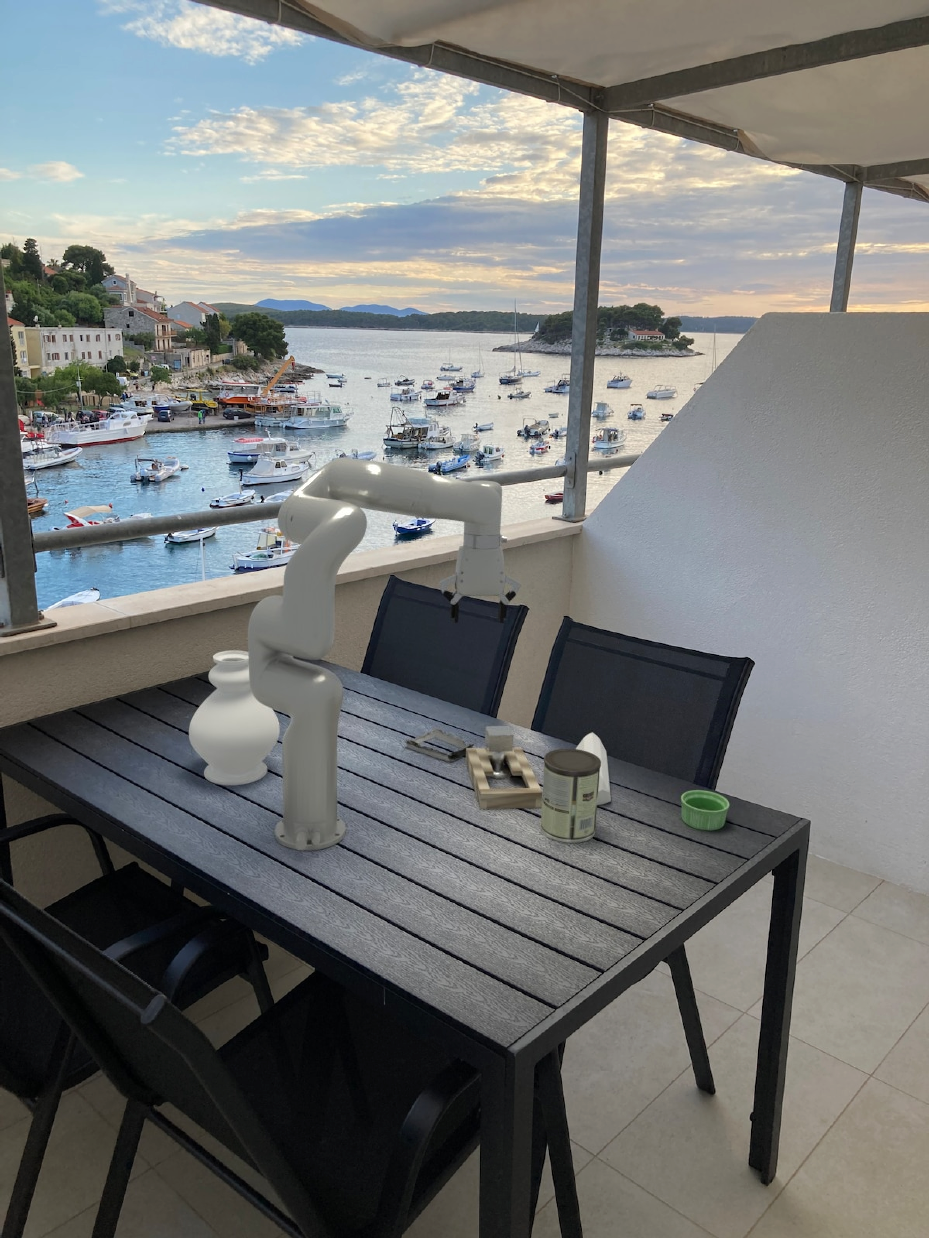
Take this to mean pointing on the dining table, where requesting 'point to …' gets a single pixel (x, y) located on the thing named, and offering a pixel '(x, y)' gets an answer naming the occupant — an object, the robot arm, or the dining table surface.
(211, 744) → the decorative vase
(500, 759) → the keyhole peg
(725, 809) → the ramekin
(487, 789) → the keyhole plate
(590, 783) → the coffee can
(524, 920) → the dining table surface
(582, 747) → the crystal
